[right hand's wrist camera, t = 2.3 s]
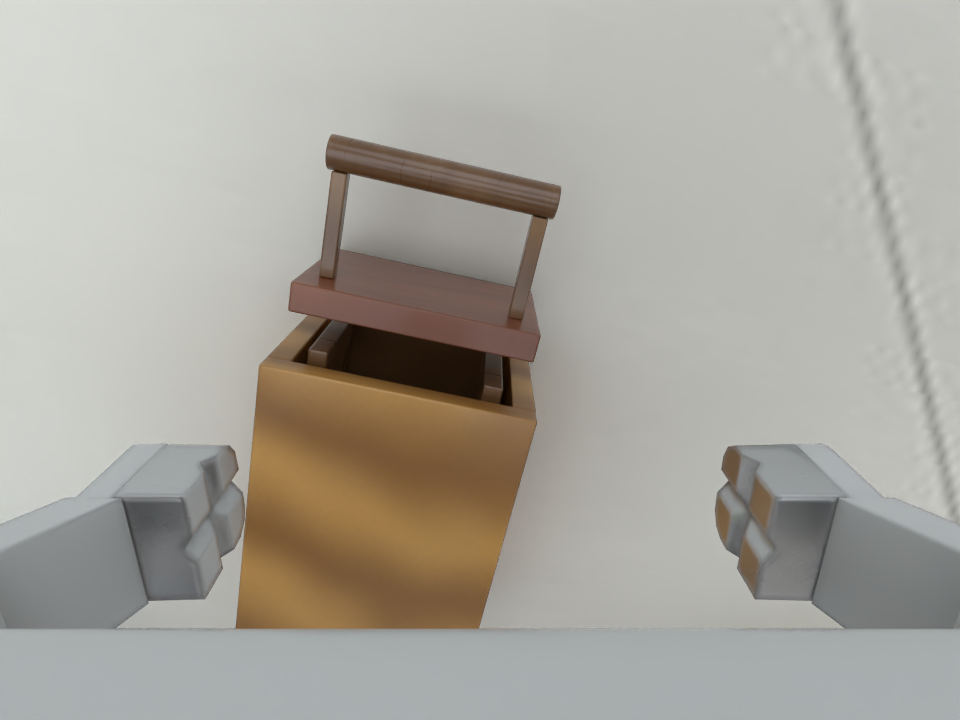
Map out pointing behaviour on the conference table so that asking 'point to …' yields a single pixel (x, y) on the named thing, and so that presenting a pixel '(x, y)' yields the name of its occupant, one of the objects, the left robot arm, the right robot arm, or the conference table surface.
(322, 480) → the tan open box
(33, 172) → the conference table surface
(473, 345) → the drawer
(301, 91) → the conference table surface
